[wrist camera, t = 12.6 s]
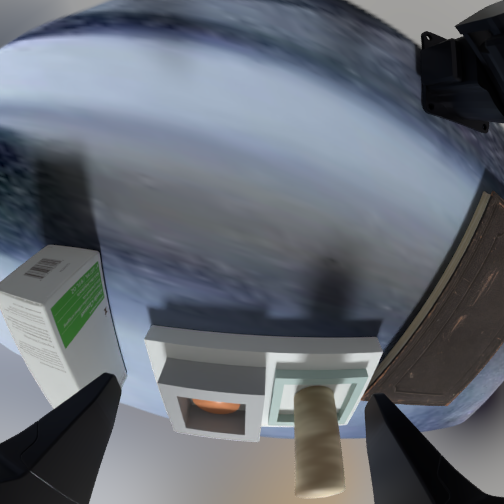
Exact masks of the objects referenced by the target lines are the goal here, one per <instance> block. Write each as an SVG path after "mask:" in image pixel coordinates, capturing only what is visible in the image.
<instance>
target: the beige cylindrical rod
mask: <svg viewBox="0 0 504 504" xmlns="http://www.w3.org/2000/svg"><path fill="white" fill-rule="evenodd" d="M294 430H295V496H297V497H300V498H321V497H327V496H332V495H335V494H338V493H341V492H343V491H344V490H345V489H346V488H345V477H344V468H343V459H342V451H341V442H340V434H339V426H338V419H337V412H336V405H335V399H334V393H333V391H332V390H331V389H330V388H328V387H325V386H310V387H306V388H304V389H301V390H300V391H298V392H297V393H296V394H295V396H294Z"/></svg>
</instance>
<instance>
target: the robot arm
mask: <svg viewBox="0 0 504 504" xmlns="http://www.w3.org/2000/svg"><path fill="white" fill-rule="evenodd" d="M455 27H456V29H457V30H458V31H459V33H460V34H463V37H460V38H457V39H453V38H451V39H448V40H447V39H445V38H443V37H440V36H438V35H436V34H433V33H431V32H428V31H426V32H424V33H422V34H421V42H422V51H421V81H422V83H423V109H424V111H425V112H426V113H428V114H431V115H434V116H437V117H440V118H443V119H446V120H449V121H452V122H455V123H458V124H461V125H463V126H466V127H468V128H471V129H474V130H476V131H479V132H481V133H487V132H488V129H489V122H497V123H504V0H503V1H500V2H497V3H494V4H492V5H489V6H487V7H485V8H484V9H482V10H480V11H478V12H477V13H475V14H474V15H472V16H470V17H469V18H467V19H465V20H464V21H462V22H461V23H459V24H457V25H456V26H455ZM426 36H428V37H429V39H430V40H428V39H427V37H426ZM429 104H430V105H431V110H430V109H429V107H428V105H429ZM483 126H484V128H483ZM120 397H121V387H120V384H119V382H118V380H117V378H116V376H115V375H114V374H111V373H107V372H105V373H103V374H101V375H100V376H99V377H97V378H96V379H94V380H93V381H92V382H90V383H89V384H88V385H86V386H85V387H83V388H82V389H81V390H79V391H78V392H77V393H75V394H74V395H73V396H71V397H70V398H68V399H67V400H66V401H64V402H63V403H62V404H60V405H59V406H57V407H56V408H55V409H53V410H52V411H50V412H49V413H48V414H46V415H45V416H44V417H42V418H41V419H40V420H39V421H37V422H35V423H34V424H32V425H31V426H29V427H28V428H27V429H25V430H24V431H22V432H20V433H19V434H17V435H15V436H14V437H12V438H10V439H8V440H6V441H4V442H2V443H0V504H89V501H90V498H91V494H92V491H93V487H94V484H95V481H96V477H97V474H98V471H99V468H100V465H101V462H102V459H103V455H104V452H105V450H106V447H107V444H108V441H109V438H110V435H111V432H112V429H113V426H114V422H115V418H116V413H117V409H118V405H119V401H120ZM365 426H366V443H367V453H368V459H369V465H370V472H371V479H372V486H373V493H374V502H375V504H504V497H496V496H491V495H488V494H486V493H484V492H482V491H481V490H480V489H479V488H477V487H476V486H475V485H474V484H472V483H471V482H470V481H469V480H467V479H466V478H465V477H464V476H463V475H462V474H460V473H459V472H458V471H457V470H456V469H455V468H454V467H453V466H452V465H451V464H450V463H449V462H448V461H447V460H446V459H445V458H444V457H443V456H441V454H440V453H439V452H438V450H436V448H435V447H434V446H433V445H432V444H431V443H430V442H429V441H428V440H427V439H426V438H425V437H424V435H423V434H422V433H421V432H420V431H419V430H418V429H417V428H416V427H415V426H414V425H413V424H412V422H411V421H410V420H409V419H408V418H407V417H406V416H405V415H404V414H403V413H402V412H401V411H400V410H399V409H398V407H397V406H396V405H395V404H394V403H393V402H392V401H391V400H390V399H389V398H388V397H387V396H386V395H385V394H384V393H376V394H373V395H372V396H371V398H370V399H369V401H368V403H367V405H366V407H365Z"/></svg>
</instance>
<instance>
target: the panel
mask: <svg viewBox="0 0 504 504" xmlns="http://www.w3.org/2000/svg"><path fill="white" fill-rule="evenodd" d="M144 341H145V344H146V348H147V352H148V355H149V359H150V362H151V366H152V369H153V372H154V376H155V379H156V382H157V385H158V388H159V391H160V394H161V397H162V400H163V403H164V406H165V409H166V412H167V414H168V416H169V419H170V421H171V424H172V426H173V429H174V432H178V433H183V434H189V435H196V436H202V437H209V438H217V439H227V440H237V441H250V442H259V439H260V431H261V426H266V427H294V396H295V394H296V393H297V392H298V391H300V390H301V389H304V388H306V387H310V386H325V387H328V388H330V389H331V390H332V391H333V393H334V399H335V405H336V412H337V419H338V425H347V424H348V422H349V420H350V418H351V417H352V415H353V413H354V411H355V409H356V407H357V406H358V404H359V402H360V400H361V398H362V396H363V394H364V392H365V390H366V388H367V386H368V384H369V382H370V380H371V378H372V376H373V374H374V371H375V369H376V367H377V365H378V363H379V360H380V358H381V356H382V353H383V350H382V348H381V346H380V343H379V341H378V338H377V337H353V338H315V337H280V336H260V335H244V334H230V333H219V332H208V331H198V330H189V329H180V328H172V327H164V326H156V325H151V327H150V329H149V331H148V333H147V335H146V337H145V339H144ZM192 399H199V400H207V401H216V402H225V403H236V404H240V407H239V409H238V410H236V411H235V412H233V413H229V414H214V413H210V412H207V411H204V410H202V409H201V408H199V407H198V406H197V405H196V404H195V403H194V402H193V400H192Z"/></svg>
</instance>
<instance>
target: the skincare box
mask: <svg viewBox="0 0 504 504" xmlns="http://www.w3.org/2000/svg"><path fill="white" fill-rule="evenodd" d="M0 309H1V312H2V314H3V317H4V319H5V322H6V324H7V326H8V328H9V331H10V333H11V335H12V337H13V339H14V341H15V343H16V346H17V348H18V350H19V352H20V354H21V355H22V357H23V359H24V361H25V363H26V365H27V367H28V368H29V370H30V372H31V374H32V375H33V377H34V379H35V380H36V382H37V384H38V386H39V387H40V389H41V390H42V392H43V393H44V395H45V396H46V398H47V400H48V401H49V403H50V404H51V406H52V407H53V409H55V408H56V407H57V406H59V405H60V404H62V403H63V402H64V401H66V400H67V399H68V398H70V397H71V396H73V395H74V394H75V393H77V392H78V391H79V390H81V389H82V388H83V387H85V386H86V385H88V384H89V383H90V382H92V381H93V380H94V379H96V378H97V377H99V376H100V375H101V374H103V373H105V372H107V373H111V374H114V375H115V376H116V378H117V380H118V382H119V384H120V387H121V389H122V386H123V384H124V382H125V380H126V378H127V373H126V370H125V367H124V364H123V360H122V357H121V353H120V350H119V346H118V343H117V339H116V335H115V331H114V327H113V323H112V318H111V314H110V309H109V305H108V300H107V295H106V289H105V284H104V278H103V273H102V267H101V260H100V253H99V252H98V251H95V250H89V249H82V248H75V247H67V246H59V245H47V246H46V247H44V248H43V249H42V250H40V251H39V252H38V253H37V254H35V255H34V256H33V257H31V258H30V259H29V260H27V261H26V262H25V263H23V264H22V265H21V266H20V267H18V268H17V269H16V270H15V271H13V272H12V273H11V274H10V275H8V276H7V277H6V278H5V279H4V280H2V281H1V282H0Z"/></svg>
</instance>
